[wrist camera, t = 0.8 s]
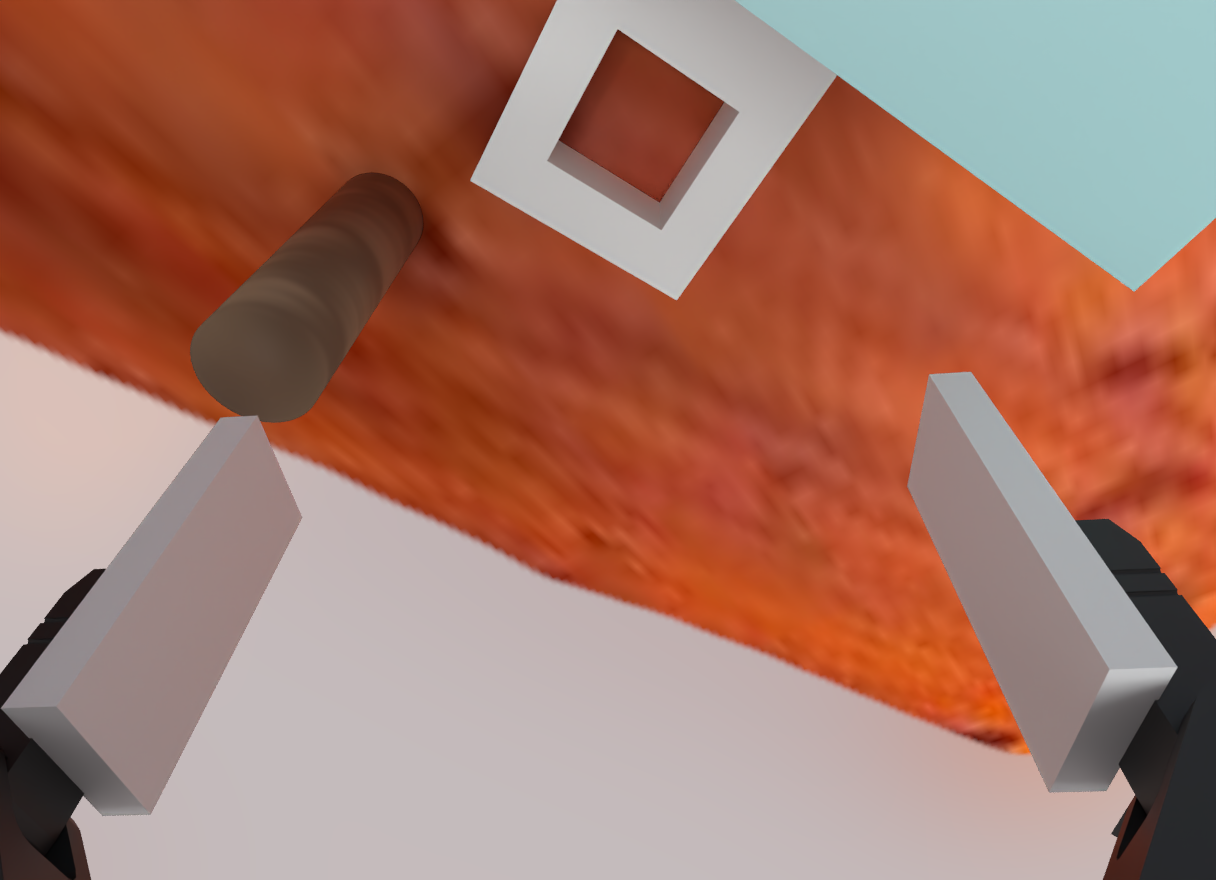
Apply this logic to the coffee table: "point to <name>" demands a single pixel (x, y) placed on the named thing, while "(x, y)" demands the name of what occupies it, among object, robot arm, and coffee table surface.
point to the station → (907, 89)
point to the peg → (308, 302)
